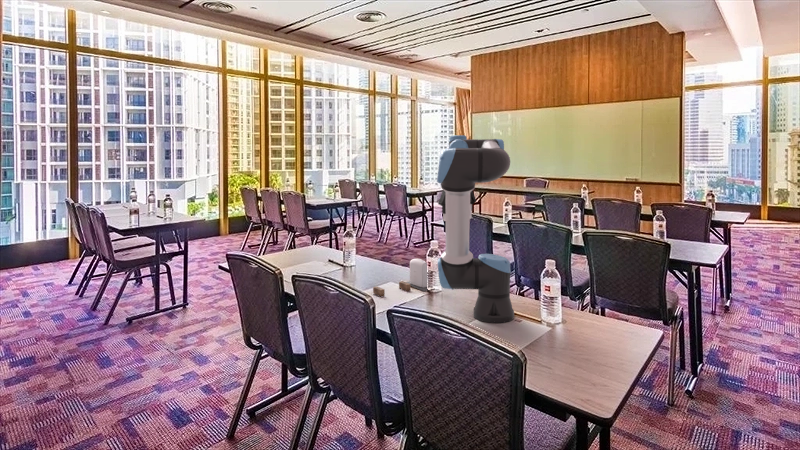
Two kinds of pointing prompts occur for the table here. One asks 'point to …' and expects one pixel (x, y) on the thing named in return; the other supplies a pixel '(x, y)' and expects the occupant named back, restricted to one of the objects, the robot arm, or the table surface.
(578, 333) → the table surface
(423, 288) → the mat
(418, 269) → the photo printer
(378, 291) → the cradle
